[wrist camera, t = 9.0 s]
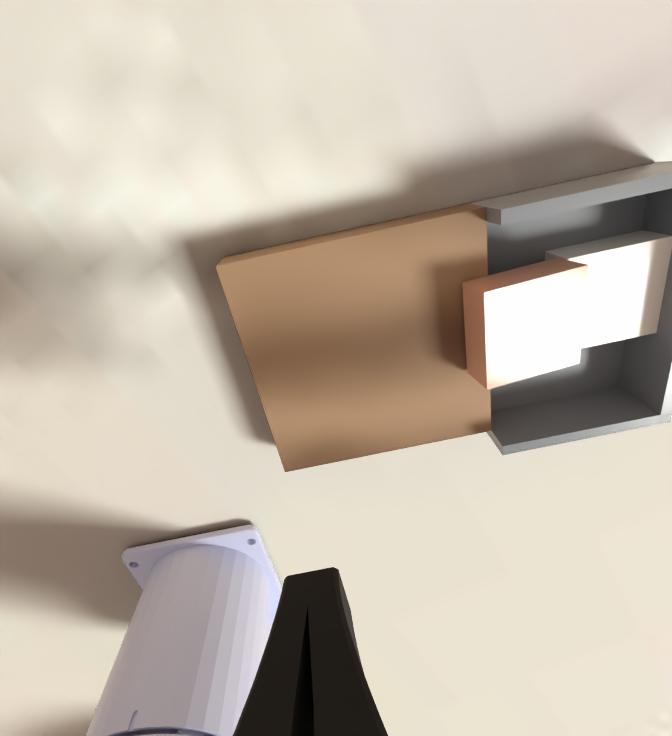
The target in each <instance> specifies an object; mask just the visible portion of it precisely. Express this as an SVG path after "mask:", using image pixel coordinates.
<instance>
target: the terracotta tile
mask: <svg viewBox="0 0 672 736" xmlns="http://www.w3.org/2000/svg"><path fill="white" fill-rule="evenodd" d="M587 275H588V265H587V264H582V263H578V262H574V261H570V260H565V259H561V258H554V259H550V260H546V261H542V262H538V263H535V264H531V265H527V266H523V267H519V268H516V269H512V270H508V271H504V272H500V273H496V274H493V275H489V276H485V277H481V278H477V279H474V280H470V281H466V282H462V289H463V307H464V324H465V342H466V360H467V373H468V374H469V375H471V376H472V377H473V378H474V379H475V380H476V381H477V382H479V383H480V384H481V385H482V386H483V387H484V388H486V389H487V390H488V389H492V388H495V387H499V386H502V385H506V384H509V383H513V382H516V381H520V380H523V379H527V378H530V377H533V376H537V375H540V374H544V373H547V372H551V371H554V370H558V369H561V368H565V367H568V366H572V365H575V364H579V362H580V352H581V341H582V330H583V319H584V308H585V297H586V286H587Z"/></svg>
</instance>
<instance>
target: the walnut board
mask: <svg viewBox="0 0 672 736" xmlns="http://www.w3.org/2000/svg"><path fill="white" fill-rule="evenodd" d="M215 267H216V270H217V273H218V275H219V278H220V281H221V284H222V287H223V290H224V293H225V296H226V299H227V302H228V305H229V308H230V311H231V314H232V317H233V320H234V323H235V326H236V329H237V332H238V335H239V337H240V340H241V343H242V346H243V349H244V352H245V355H246V358H247V361H248V364H249V367H250V370H251V373H252V376H253V379H254V382H255V385H256V388H257V391H258V394H259V396H260V399H261V402H262V405H263V408H264V411H265V414H266V417H267V420H268V423H269V426H270V429H271V432H272V435H273V438H274V441H275V444H276V447H277V450H278V453H279V456H280V458H281V461H282V464H283V467H284V470H285V472H288V471H293V470H298V469H303V468H308V467H313V466H318V465H323V464H328V463H333V462H338V461H343V460H348V459H353V458H358V457H363V456H368V455H373V454H377V453H382V452H387V451H392V450H397V449H402V448H407V447H412V446H417V445H422V444H427V443H432V442H437V441H442V440H447V439H452V438H457V437H462V436H467V435H472V434H477V433H482V432H487V431H491V395H490V389H488V390H487V389H486V388H484V387H483V386H482V385H481V384H480V383H479V382H477V381H476V380H475V379H474V378H473V377H472V376H471V375H469V374H468V373H467V360H466V342H465V324H464V307H463V289H462V282H466V281H470V280H474V279H477V278H481V277H485V276H488V262H487V218H486V207H484V206H479V205H473V204H463V205H459V206H454V207H449V208H445V209H440V210H436V211H431V212H427V213H422V214H418V215H413V216H409V217H404V218H400V219H395V220H390V221H386V222H381V223H377V224H372V225H368V226H363V227H359V228H354V229H350V230H345V231H340V232H336V233H331V234H327V235H322V236H318V237H313V238H309V239H304V240H300V241H295V242H290V243H286V244H281V245H277V246H272V247H268V248H263V249H259V250H254V251H250V252H245V253H240V254H236V255H231V256H227V257H224V258H223V259H222V260H221V261H220V262H219V263H218V264H217V265H216V266H215Z"/></svg>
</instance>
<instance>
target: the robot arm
mask: <svg viewBox="0 0 672 736" xmlns="http://www.w3.org/2000/svg"><path fill="white" fill-rule="evenodd" d="M121 559H122V561H123V562H124V564H125V565H126V567H127V568H128V570H129V571H130V573H131V574H132V575H133V577H134V578H135V580H136V581H137V583H138V584H139V586H140V587H141V589H142V590H143V591H142V594H141V597H140V599H139V602H138V604H137V607H136V609H135V612H134V614H133V617H132V619H131V622H130V624H129V627H128V629H127V632H126V634H125V637H124V640H123V642H122V645H121V647H120V650H119V652H118V655H117V657H116V660H115V662H114V665H113V667H112V670H111V672H110V675H109V677H108V680H107V683H106V685H105V688H104V690H103V693H102V695H101V698H100V700H99V703H98V705H97V708H96V710H95V713H94V715H93V718H92V721H91V723H90V726H89V728H88V731H87V733H86V736H388V734H387V732H386V730H385V727H384V725H383V722H382V720H381V717H380V715H379V712H378V710H377V707H376V705H375V702H374V699H373V697H372V694H371V692H370V689H369V686H368V684H367V681H366V678H365V676H364V672H363V668H362V665H361V661H360V657H359V652H358V648H357V643H356V638H355V634H354V628H353V622H352V616H351V610H350V607H349V603H348V600H347V597H346V594H345V590H344V587H343V584H342V580H341V577H340V574H339V570H338V569H336V568H334V567H332V568H326V569H321V570H316V571H311V572H306V573H300V574H295V575H290V576H287V577H286V578H285V579H284V583H283V588H282V586H281V584H280V581H279V579H278V576H277V574H276V572H275V569H274V567H273V564H272V562H271V560H270V557H269V555H268V552H267V550H266V548H265V545H264V543H263V540H262V538H261V536H260V533H259V531H258V529H257V527H255V526H254V525H244V526H239V527H234V528H229V529H224V530H219V531H213V532H208V533H203V534H198V535H193V536H188V537H183V538H178V539H173V540H168V541H163V542H158V543H153V544H148V545H143V546H138V547H133V548H128V549H126V550H125V551H124V552H123V554H122V557H121Z"/></svg>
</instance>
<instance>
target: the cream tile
mask: <svg viewBox="0 0 672 736" xmlns="http://www.w3.org/2000/svg"><path fill="white" fill-rule="evenodd" d="M671 251H672V235H667V234H661V233H655V232H649V231H643V230H640V231H636V232H631V233H627V234H622V235H618V236H613V237H608V238H604V239H599V240H595V241H590V242H585V243H581V244H576V245H572V246H567V247H562V248H558V249H553V250H549V251H545V261H546V260H550V259H554V258H561V259H565V260H570V261H574V262H578V263H582V264H587V265H588V275H587V286H586V297H585V308H584V319H583V330H582V341H581V348H586V347H591V346H596V345H601V344H605V343H610V342H615V341H620V340H624V339H629V338H634V337H639V336H644V335H648V334H653V333H656V332H657V326H658V321H659V315H660V310H661V305H662V299H663V294H664V289H665V283H666V278H667V272H668V267H669V262H670V256H671Z"/></svg>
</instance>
